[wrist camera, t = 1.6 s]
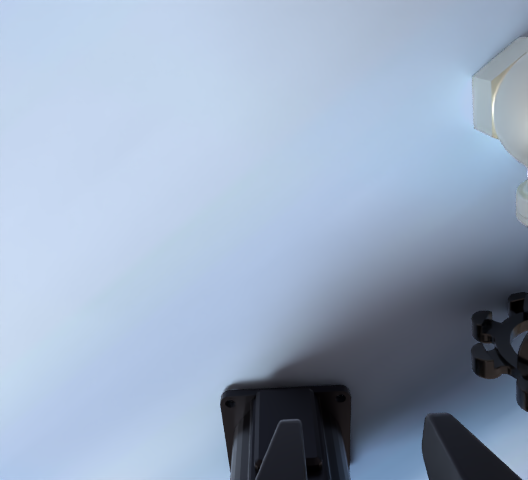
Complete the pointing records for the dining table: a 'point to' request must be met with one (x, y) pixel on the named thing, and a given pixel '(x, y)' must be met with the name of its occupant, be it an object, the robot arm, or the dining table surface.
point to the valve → (524, 151)
